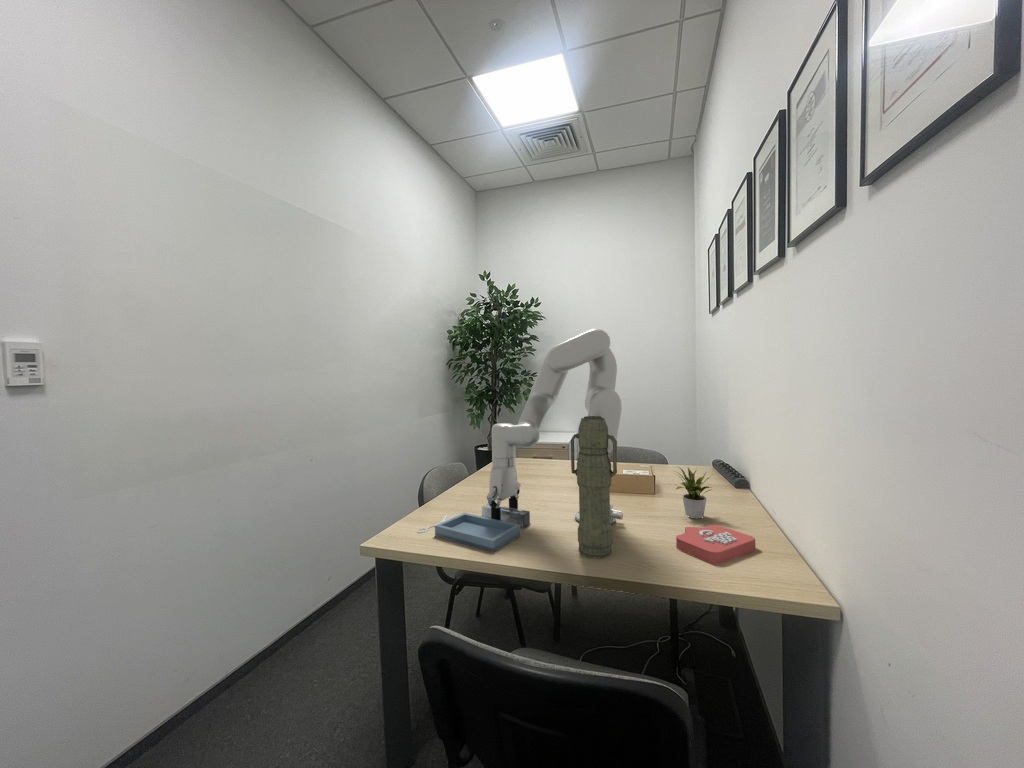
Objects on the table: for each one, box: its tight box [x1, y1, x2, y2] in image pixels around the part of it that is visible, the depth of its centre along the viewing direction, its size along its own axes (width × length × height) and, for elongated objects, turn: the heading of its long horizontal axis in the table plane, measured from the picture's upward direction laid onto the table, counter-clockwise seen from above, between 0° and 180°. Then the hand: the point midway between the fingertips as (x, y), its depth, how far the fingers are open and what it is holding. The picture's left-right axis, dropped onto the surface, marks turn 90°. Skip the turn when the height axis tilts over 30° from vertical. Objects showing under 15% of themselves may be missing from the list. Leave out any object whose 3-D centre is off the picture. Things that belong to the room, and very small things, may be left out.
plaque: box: [675, 524, 756, 565], centre depth 104 cm, size 18×4×15 cm
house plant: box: [673, 465, 717, 519], centre depth 127 cm, size 14×14×16 cm
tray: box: [434, 512, 522, 553], centre depth 114 cm, size 21×13×3 cm, turn 56°
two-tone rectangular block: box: [481, 502, 531, 528], centre depth 125 cm, size 16×4×4 cm, turn 56°
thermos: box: [570, 415, 618, 559], centre depth 102 cm, size 9×12×35 cm
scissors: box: [416, 513, 457, 534], centre depth 124 cm, size 11×1×20 cm
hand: (505, 515), depth 126 cm, fingers open, 9 cm apart
